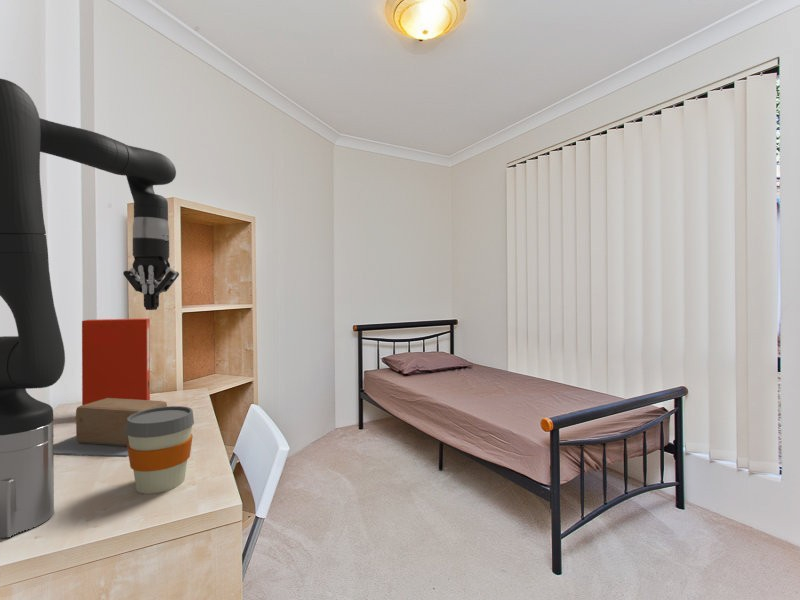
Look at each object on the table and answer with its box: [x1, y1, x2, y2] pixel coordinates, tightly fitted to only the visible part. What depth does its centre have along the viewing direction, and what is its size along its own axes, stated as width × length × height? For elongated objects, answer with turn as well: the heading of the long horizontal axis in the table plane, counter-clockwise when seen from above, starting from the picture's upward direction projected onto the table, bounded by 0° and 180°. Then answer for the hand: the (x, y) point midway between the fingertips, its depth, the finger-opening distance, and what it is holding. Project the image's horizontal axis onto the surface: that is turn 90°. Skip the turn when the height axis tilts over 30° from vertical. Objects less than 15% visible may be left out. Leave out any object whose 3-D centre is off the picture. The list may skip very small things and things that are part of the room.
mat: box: [53, 435, 129, 457], centre depth 106 cm, size 16×24×1 cm, turn 87°
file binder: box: [81, 318, 151, 406], centre depth 131 cm, size 8×17×32 cm, turn 116°
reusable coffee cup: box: [126, 405, 195, 495], centre depth 84 cm, size 12×13×15 cm
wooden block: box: [75, 398, 168, 446], centre depth 108 cm, size 10×10×20 cm
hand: (151, 309), depth 94 cm, fingers closed
